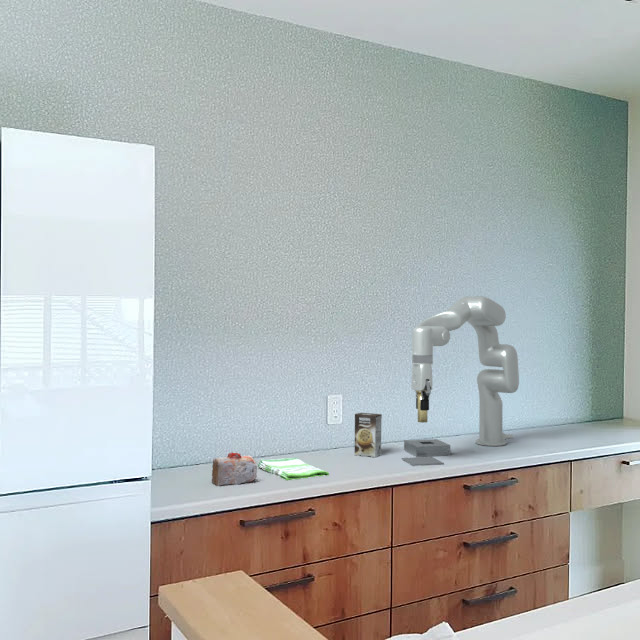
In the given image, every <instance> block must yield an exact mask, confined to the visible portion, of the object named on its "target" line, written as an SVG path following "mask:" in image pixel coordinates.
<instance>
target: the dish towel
mask: <svg viewBox="0 0 640 640" xmlns="http://www.w3.org/2000/svg"><path fill="white" fill-rule="evenodd" d="M259 467H260V468H262V469H263V470H262V469H261V470H262V471H264V470H265V472H266V471H267V472H266V473H269V472H270V473H269V474H271V473H272V474H271V475H273V474H274V475H273V476H275V475H276V476H275V477H277V476H278V478H279V477H281V478H280V479H282V478H283V479H282V480H284V479H285V480H284V481H293V480H292V479H295V480H301V478H303V479H309V478H308V477H311V478H316V477H315V476H319V477H324V476H323V475H326V476H329V475H330V473H329V471H325V470H324V469H320V468H319V467H315V466H313V465H311V464H308V463H307V462H305V461H303V460H301V459H300V458H298V457H288V458H287V457H283V458H272V459H260V460H259V462H258V463H257V468H259ZM260 468H259V469H260Z"/></svg>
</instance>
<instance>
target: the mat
mask: <svg viewBox="0 0 640 640" xmlns="http://www.w3.org/2000/svg"><path fill="white" fill-rule="evenodd" d="M402 459H403V460H402ZM401 460H402V461H404V460H405V461H406V463H407V462H408V464H409V463H410V464H409V465H411V466H412V465H421V466H434V465H435V466H436V465H445V463H444V462H443V461H441V460H439V459H437V458H435V457H434V456H429V457H415V456H413V457H402V458H401ZM405 461H404V462H405Z"/></svg>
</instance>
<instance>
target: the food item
mask: <svg viewBox="0 0 640 640" xmlns="http://www.w3.org/2000/svg"><path fill="white" fill-rule="evenodd" d="M211 468H212V470H211V476H212V477H211V483H212V484H213V485H216V487H221V486H228V485H229V486H230V485H234V486H238V485H241V484H246V483H247V484H248V483H252V482H253V481H254V480H256V478H257V476H258V475H257V472H258V471H257V469H258V463H257V461H256V460H255V459H254V458H253V456H251V455H242V454H240V453H239V452H229V453H228V454H227V456H224V457H223V456H222V457H215V458H214V459H212V467H211Z"/></svg>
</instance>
